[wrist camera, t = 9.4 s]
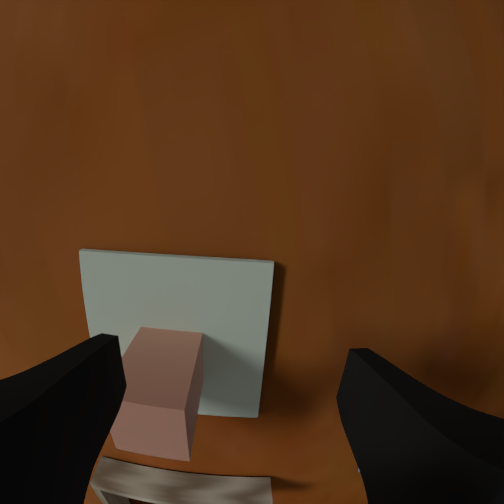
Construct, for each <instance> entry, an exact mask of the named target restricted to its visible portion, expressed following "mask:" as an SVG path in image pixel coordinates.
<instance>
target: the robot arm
mask: <svg viewBox="0 0 504 504" xmlns="http://www.w3.org/2000/svg"><path fill="white" fill-rule="evenodd" d="M126 387H127V384H126V379H125V373H124V368H123V362H122V357H121V350H120V344H119V337H118V336H117V335H110V334H104V333H101V334H98V335H96V336H94V337H91V338H89V339H87V340H85V341H84V342H82V343H80V344H78V345H76V346H74V347H72V348H70V349H69V350H67V351H65V352H63V353H61V354H59V355H57V356H55V357H53V358H51V359H49V360H47V361H45V362H43V363H41V364H39V365H37V366H35V367H32V368H30V369H28V370H26V371H24V372H21V373H19V374H16V375H13V376H11V377H8V378H5V379H2V380H0V504H84V499H85V495H86V491H87V487H88V484H89V480H90V477H91V473H92V470H93V467H94V465H95V462H96V460H97V458H98V455H99V453H100V451H101V449H102V447H103V445H104V442H105V440H106V438H107V436H108V434H109V432H110V430H111V428H112V425H113V423H114V421H115V419H116V417H117V415H118V412H119V410H120V407H121V404H122V401H123V397H124V394H125V391H126ZM336 398H337V403H338V408H339V413H340V417H341V422H342V425H343V428H344V430H345V433H346V436H347V438H348V441H349V444H350V446H351V449H352V452H353V454H354V457H355V460H356V462H357V465H358V471H359V472H360V473H361V476H362V479H363V482H364V486H365V490H366V495H367V499H368V504H504V419H502V418H498V417H495V416H492V415H489V414H486V413H482V412H479V411H477V410H474V409H471V408H469V407H467V406H464V405H462V404H460V403H458V402H455V401H453V400H451V399H449V398H447V397H445V396H443V395H441V394H440V393H438V392H436V391H434V390H432V389H431V388H429V387H427V386H425V385H424V384H422V383H421V382H419V381H417V380H416V379H414V378H413V377H411V376H410V375H408V374H406V373H405V372H403V371H402V370H400V369H399V368H397V367H396V366H394V365H393V364H392V363H390V362H389V361H387V360H386V359H384V358H383V357H381V356H379V355H378V354H376V353H375V352H373V351H371V350H369V349H368V348H360V349H349V353H348V357H347V361H346V365H345V369H344V372H343V376H342V379H341V383H340V387H339V390H338V393H337V397H336Z"/></svg>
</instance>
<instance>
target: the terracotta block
mask: <svg viewBox="0 0 504 504" xmlns="http://www.w3.org/2000/svg"><path fill="white" fill-rule="evenodd" d="M122 362H123V368H124V373H125V379H126V384H127V387H126V391H125V394H124V397H123V401H122V404H121V407H120V410H119V412H118V415H117V417H116V419H115V421H114V423H113V425H112V428H111V430H110V432H111V435H112V438H113V440H114V443H115V446H116V448H117V449H121V450H125V451H130V452H135V453H139V454H145V455H150V456H156V457H162V458H168V459H175V460H183V461H190V457H191V451H192V445H193V439H194V433H195V427H196V421H197V415H198V409H199V403H200V397H201V392H202V386H203V333H199V332H188V331H177V330H167V329H157V328H149V327H140V329H139V331H138V332H137V334H136V335H135V337H134V339H133V340H132V342H131V343H130V345H129V347H128V348H127V350H126V352H125V353H124V355H123V357H122Z"/></svg>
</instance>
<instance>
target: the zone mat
mask: <svg viewBox="0 0 504 504" xmlns="http://www.w3.org/2000/svg"><path fill="white" fill-rule="evenodd" d="M79 258H80V269H81V279H82V288H83V296H84V303H85V310H86V316H87V323H88V328H89V334H90V338H91V337H94V336H96V335H98V334H101V333H104V334H110V335H117V336H118V337H119V344H120V350H121V357H123V355H124V353H125V352H126V350H127V348H128V347H129V345H130V343H131V342H132V340H133V339H134V337H135V335H136V334H137V332H138V331H139V329H140V327H149V328H157V329H167V330H177V331H188V332H199V333H203V386H202V392H201V397H200V403H199V409H198V414H203V415H215V416H231V417H258V412H259V404H260V395H261V387H262V378H263V369H264V360H265V351H266V341H267V332H268V322H269V312H270V302H271V291H272V281H273V270H274V261H269V260H252V259H235V258H218V257H201V256H185V255H169V254H154V253H138V252H123V251H108V250H93V249H81V250H79Z"/></svg>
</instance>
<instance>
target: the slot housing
mask: <svg viewBox="0 0 504 504" xmlns="http://www.w3.org/2000/svg"><path fill="white" fill-rule="evenodd" d="M90 485H91V486H92V488H93V490H94V491H95V493H96V494H97V496H98V497H99V499H100V500H101V502H102V503H103V504H131V503H130V502H129V500H128V498H131V499H136V500H140V501H145V502H150V503H155V504H273V501H272V490H271V478H270V477H230V476H214V475H202V474H193V473H184V472H177V471H170V470H163V469H157V468H152V467H146V466H141V465H136V464H132V463H127V462H123V461H119V460H114V459H111V458H107V457H103V456H101V458H100V461H99V463H98V466H97V468H96V470H95V473H94V475H93V478H92V480H91V482H90Z"/></svg>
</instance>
